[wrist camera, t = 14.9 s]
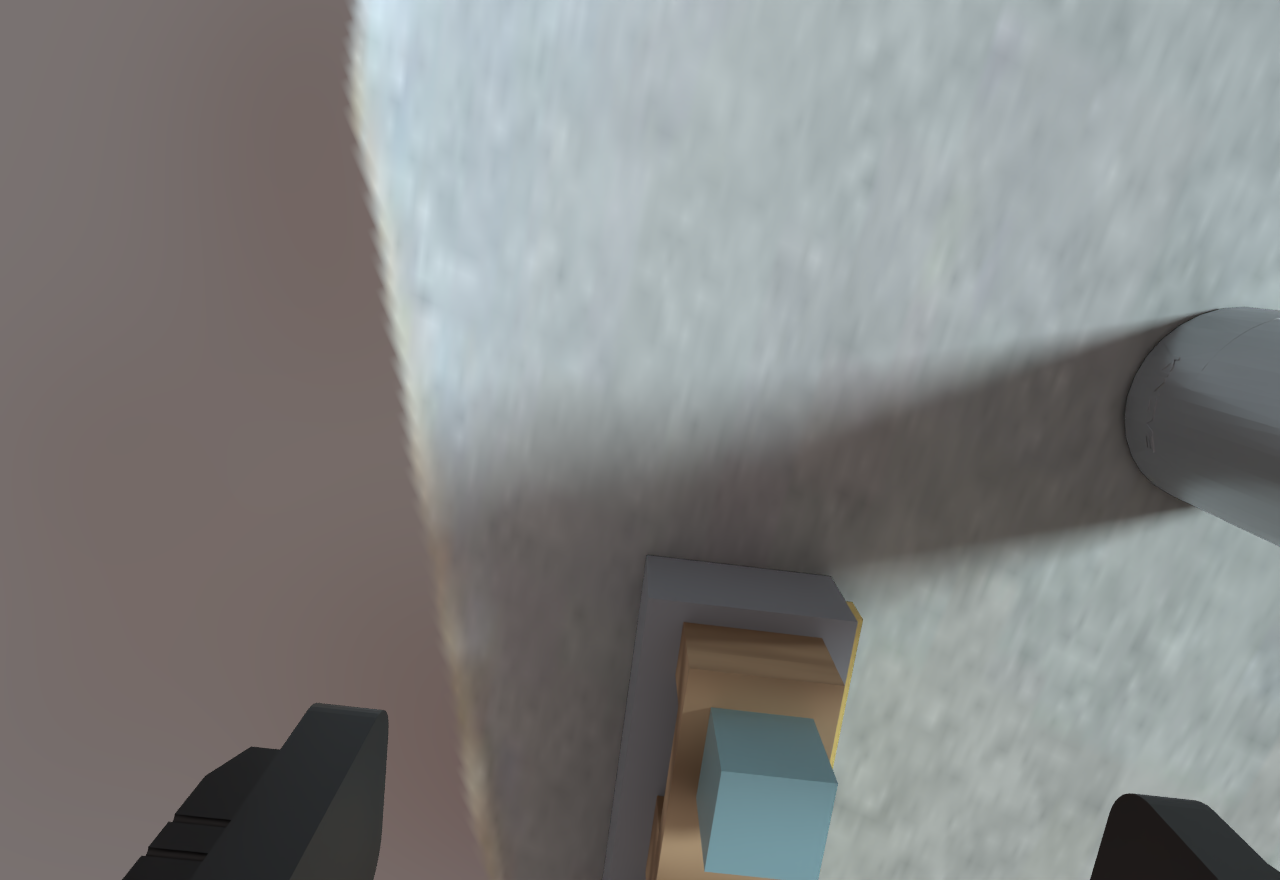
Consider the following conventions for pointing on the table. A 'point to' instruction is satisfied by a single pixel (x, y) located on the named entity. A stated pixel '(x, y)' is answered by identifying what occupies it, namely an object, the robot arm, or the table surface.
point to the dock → (652, 692)
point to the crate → (764, 796)
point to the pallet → (738, 680)
